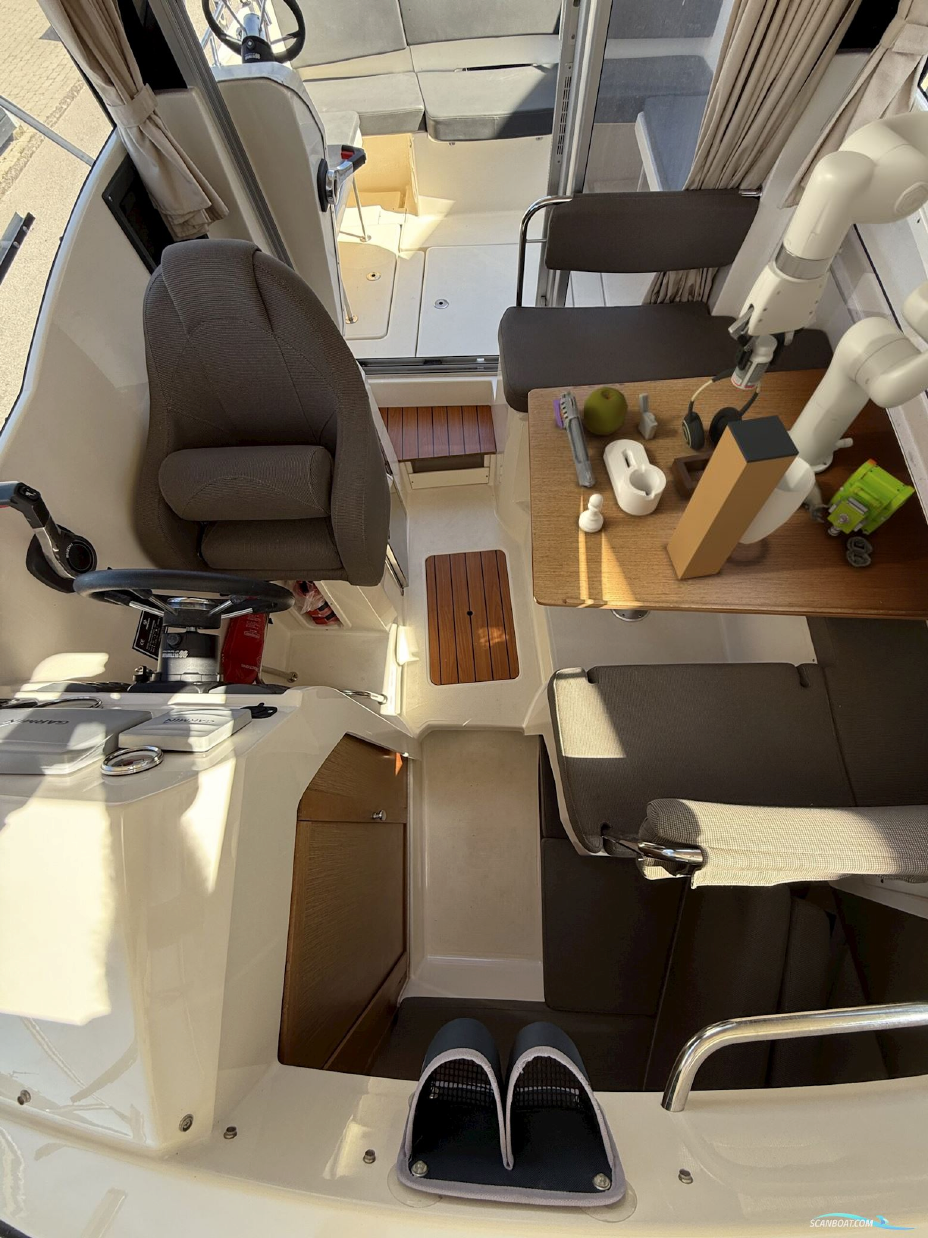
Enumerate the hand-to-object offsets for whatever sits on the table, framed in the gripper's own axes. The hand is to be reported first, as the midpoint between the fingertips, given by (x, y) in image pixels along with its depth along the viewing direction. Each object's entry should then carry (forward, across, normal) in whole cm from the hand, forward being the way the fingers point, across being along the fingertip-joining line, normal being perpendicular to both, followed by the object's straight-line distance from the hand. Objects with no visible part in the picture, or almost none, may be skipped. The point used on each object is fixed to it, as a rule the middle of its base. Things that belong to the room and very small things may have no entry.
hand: (754, 361), depth 100 cm
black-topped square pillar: (+31, +9, +20) cm, 38 cm away
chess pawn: (+31, +27, +7) cm, 41 cm away
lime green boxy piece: (+25, -30, +15) cm, 42 cm away
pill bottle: (+4, 0, 0) cm, 4 cm away
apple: (+31, +17, -20) cm, 40 cm away
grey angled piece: (+31, +8, -17) cm, 36 cm away
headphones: (+31, -5, -10) cm, 33 cm away
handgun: (+34, +25, -18) cm, 46 cm away
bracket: (+31, +15, -3) cm, 35 cm away
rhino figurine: (+31, -19, +11) cm, 38 cm away
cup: (+31, -2, +18) cm, 36 cm away
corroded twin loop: (+31, -25, +25) cm, 47 cm away
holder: (+31, +1, 0) cm, 31 cm away
